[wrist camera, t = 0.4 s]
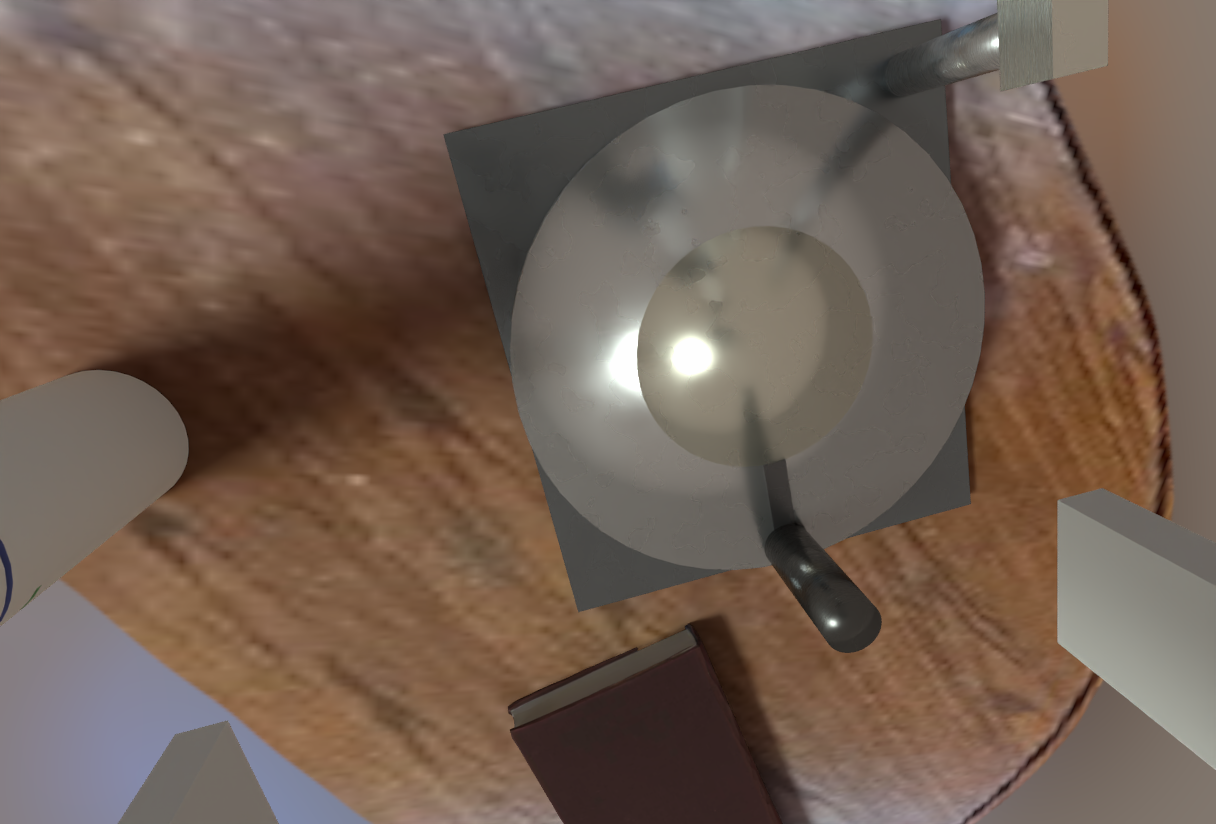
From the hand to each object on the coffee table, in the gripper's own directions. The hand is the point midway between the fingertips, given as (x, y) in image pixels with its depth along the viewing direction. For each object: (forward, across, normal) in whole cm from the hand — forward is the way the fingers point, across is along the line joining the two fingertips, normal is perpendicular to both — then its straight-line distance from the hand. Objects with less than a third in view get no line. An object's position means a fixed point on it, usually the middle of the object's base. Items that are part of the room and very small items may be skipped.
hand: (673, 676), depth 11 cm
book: (+26, -1, -29) cm, 39 cm away
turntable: (+25, +9, -2) cm, 26 cm away
